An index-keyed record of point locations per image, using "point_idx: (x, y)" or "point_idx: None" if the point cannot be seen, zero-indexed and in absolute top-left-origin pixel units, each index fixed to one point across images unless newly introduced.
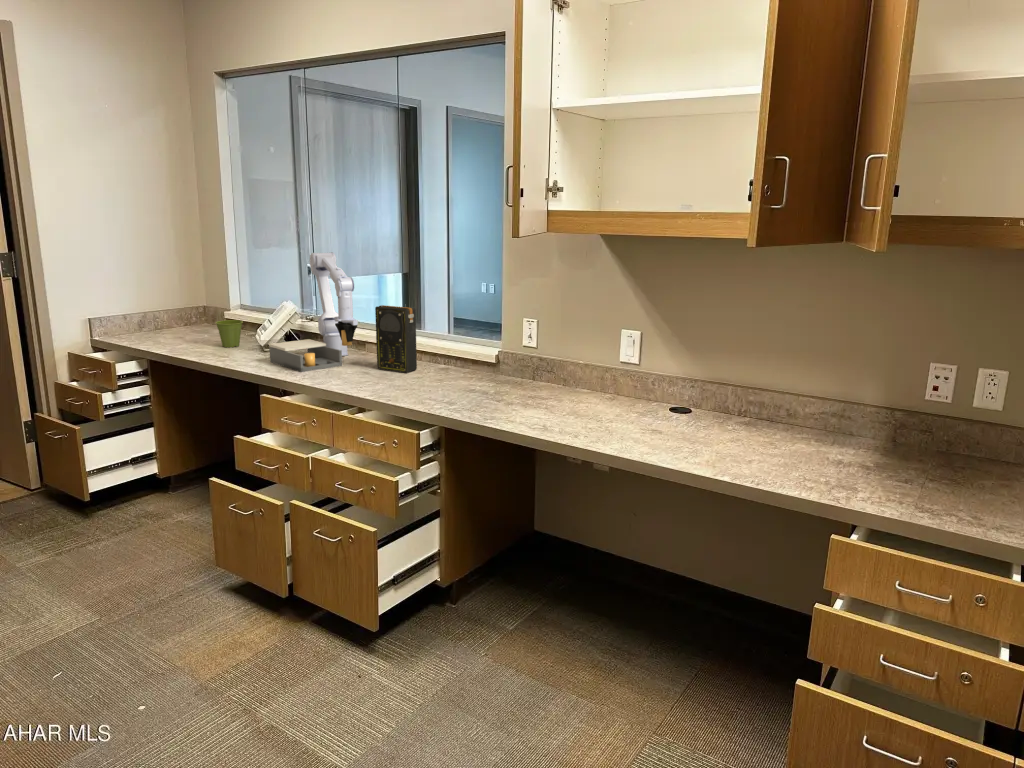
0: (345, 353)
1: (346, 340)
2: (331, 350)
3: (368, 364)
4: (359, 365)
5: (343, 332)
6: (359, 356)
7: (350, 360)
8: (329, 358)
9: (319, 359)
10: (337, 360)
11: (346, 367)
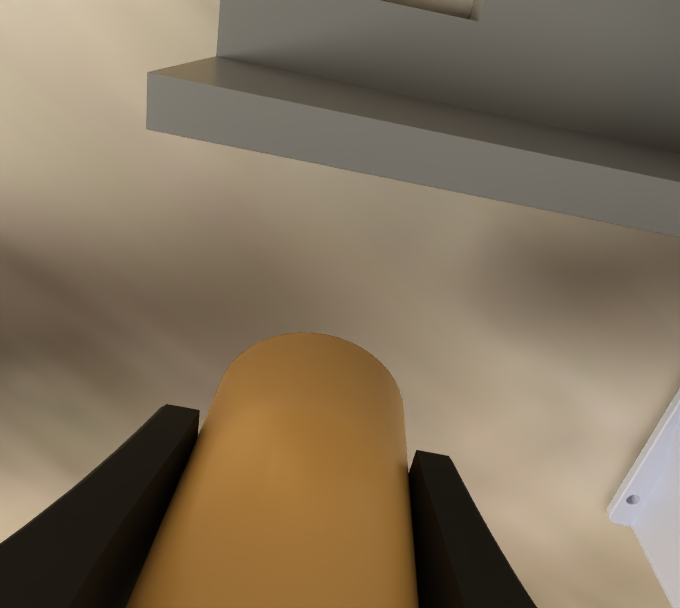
0: (643, 515)
1: (213, 427)
2: (473, 132)
3: (85, 334)
4: (101, 243)
5: (211, 586)
6: None
7: (406, 369)
8: (523, 122)
9: (671, 11)
10: (282, 73)
11: (98, 51)
